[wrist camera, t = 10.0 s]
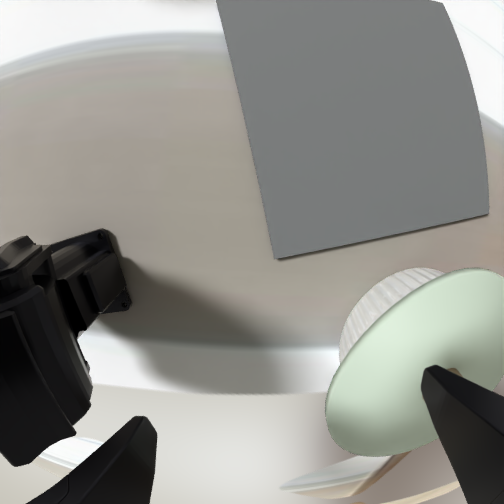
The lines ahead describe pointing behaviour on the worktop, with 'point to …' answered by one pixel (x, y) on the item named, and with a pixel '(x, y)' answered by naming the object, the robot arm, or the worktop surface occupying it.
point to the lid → (416, 361)
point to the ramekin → (381, 303)
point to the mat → (356, 118)
